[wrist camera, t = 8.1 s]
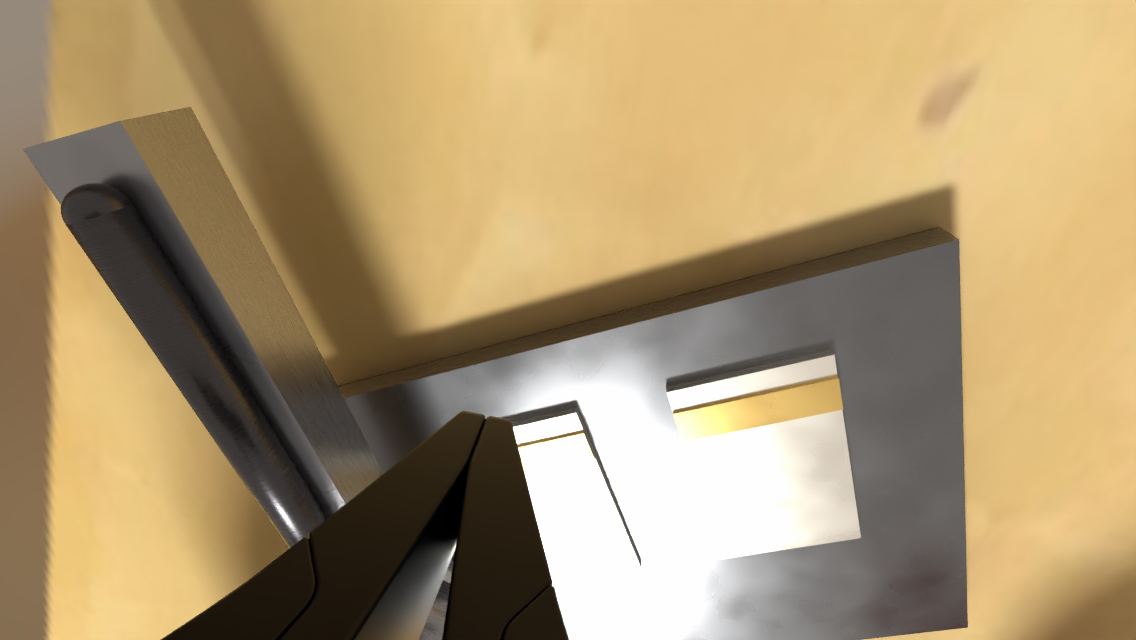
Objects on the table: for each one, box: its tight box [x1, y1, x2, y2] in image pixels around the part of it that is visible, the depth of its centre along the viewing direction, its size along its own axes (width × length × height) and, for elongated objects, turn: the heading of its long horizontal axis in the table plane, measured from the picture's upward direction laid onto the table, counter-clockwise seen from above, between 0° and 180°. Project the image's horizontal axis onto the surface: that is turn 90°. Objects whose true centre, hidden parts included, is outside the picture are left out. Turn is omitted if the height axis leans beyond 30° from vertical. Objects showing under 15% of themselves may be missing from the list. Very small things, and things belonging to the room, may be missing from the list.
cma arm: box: [23, 107, 450, 640], centre depth 16 cm, size 20×4×3 cm, turn 14°
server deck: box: [338, 227, 968, 640], centre depth 20 cm, size 21×17×3 cm
